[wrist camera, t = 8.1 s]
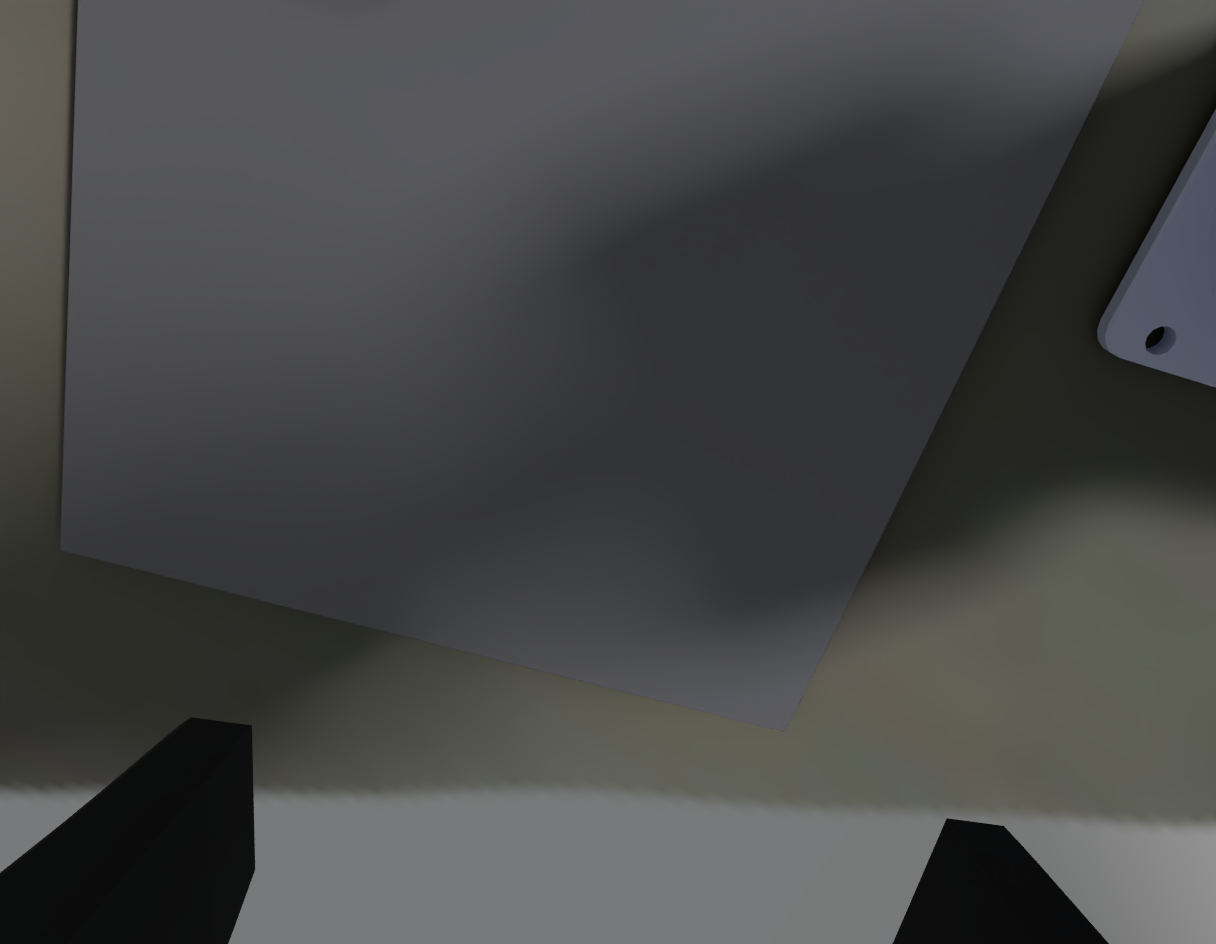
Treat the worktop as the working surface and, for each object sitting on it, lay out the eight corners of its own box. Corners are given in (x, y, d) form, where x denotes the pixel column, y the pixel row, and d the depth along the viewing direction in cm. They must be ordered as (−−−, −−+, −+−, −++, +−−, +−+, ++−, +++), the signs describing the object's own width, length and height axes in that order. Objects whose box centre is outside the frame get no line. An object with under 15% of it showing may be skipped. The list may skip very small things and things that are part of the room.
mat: (1157, -54, 14) (1171, -56, 13) (781, 720, 21) (785, 732, 20) (108, -434, 12) (93, -448, 12) (70, 540, 19) (60, 550, 19)
